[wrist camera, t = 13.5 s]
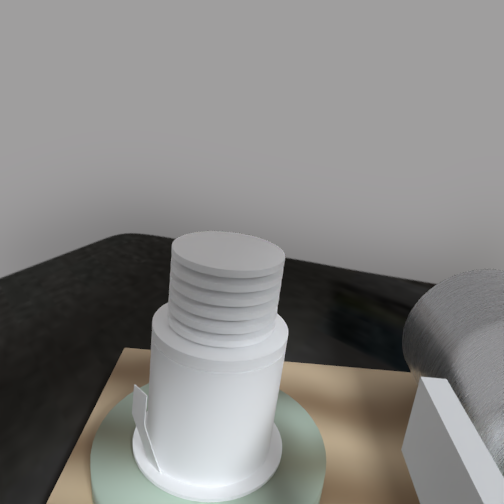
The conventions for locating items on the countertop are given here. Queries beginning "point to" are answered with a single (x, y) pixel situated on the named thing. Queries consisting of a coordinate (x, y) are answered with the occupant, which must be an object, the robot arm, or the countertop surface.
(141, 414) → the downlight
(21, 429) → the countertop surface
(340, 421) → the mounting board
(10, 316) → the countertop surface
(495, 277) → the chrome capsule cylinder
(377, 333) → the countertop surface
